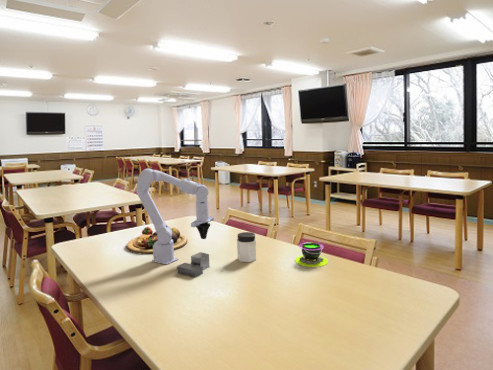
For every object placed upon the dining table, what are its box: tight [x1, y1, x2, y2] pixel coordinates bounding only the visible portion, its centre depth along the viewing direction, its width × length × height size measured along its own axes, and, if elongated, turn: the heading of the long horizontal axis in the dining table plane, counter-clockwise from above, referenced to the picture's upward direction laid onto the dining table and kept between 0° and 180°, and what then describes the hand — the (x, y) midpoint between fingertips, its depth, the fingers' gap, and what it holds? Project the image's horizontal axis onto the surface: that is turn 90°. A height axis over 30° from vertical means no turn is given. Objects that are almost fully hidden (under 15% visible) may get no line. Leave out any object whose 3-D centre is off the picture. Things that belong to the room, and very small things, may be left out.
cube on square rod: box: [190, 251, 210, 271], centre depth 152 cm, size 5×6×6 cm
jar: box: [236, 231, 257, 263], centre depth 162 cm, size 9×8×12 cm
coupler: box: [176, 262, 204, 278], centre depth 151 cm, size 10×14×3 cm
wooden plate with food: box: [126, 226, 188, 255], centre depth 188 cm, size 32×32×8 cm
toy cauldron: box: [294, 236, 329, 268], centre depth 158 cm, size 15×15×11 cm
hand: (203, 238), depth 165 cm, fingers closed
